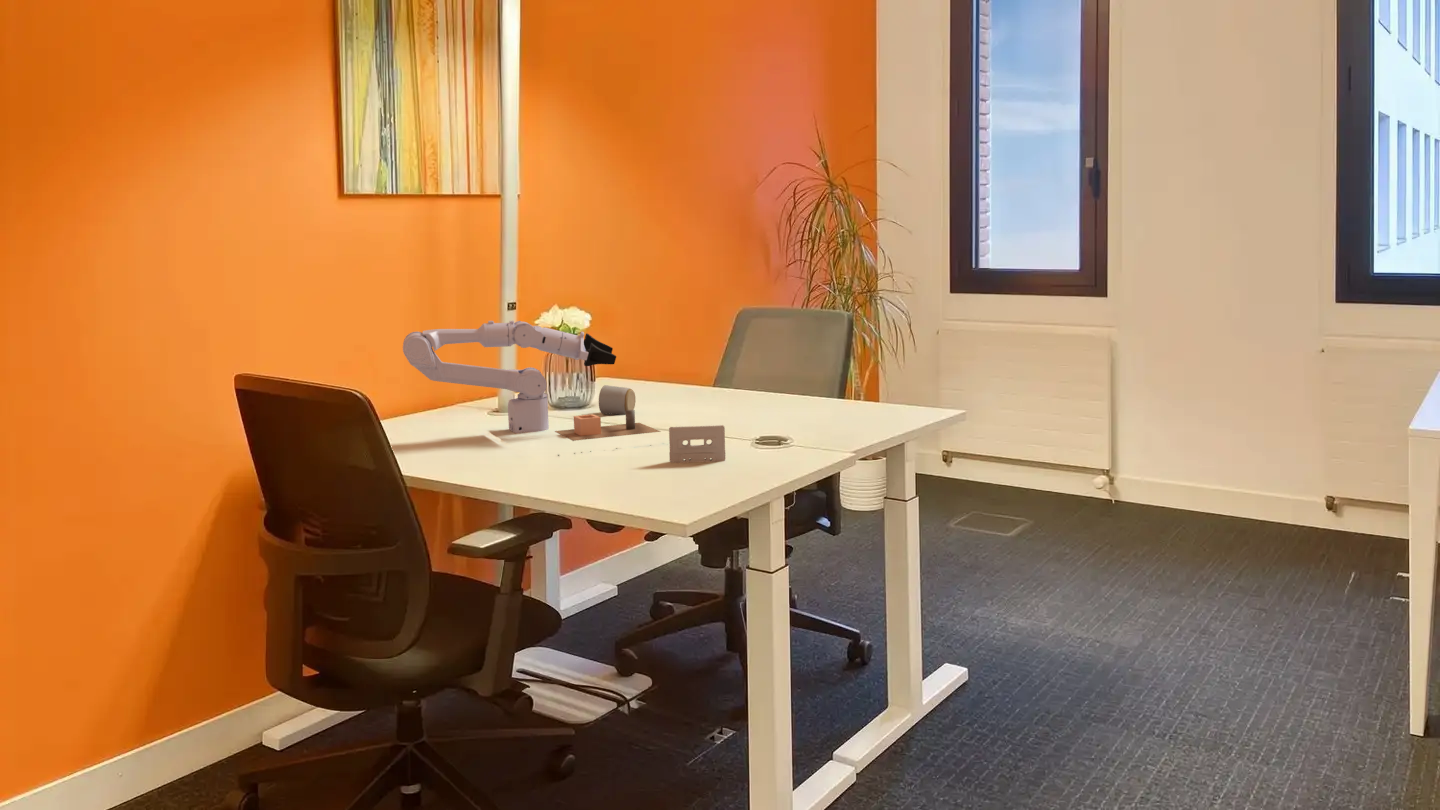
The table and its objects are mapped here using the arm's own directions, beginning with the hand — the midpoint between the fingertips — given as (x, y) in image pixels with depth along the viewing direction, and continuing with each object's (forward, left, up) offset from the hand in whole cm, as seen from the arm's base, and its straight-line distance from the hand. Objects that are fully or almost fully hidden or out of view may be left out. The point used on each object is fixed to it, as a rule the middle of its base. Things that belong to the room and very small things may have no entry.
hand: (613, 356), depth 303 cm
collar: (-10, -8, -17) cm, 22 cm away
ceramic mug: (+8, +20, -18) cm, 29 cm away
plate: (-5, -8, -18) cm, 20 cm away
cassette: (+1, -47, -18) cm, 50 cm away
